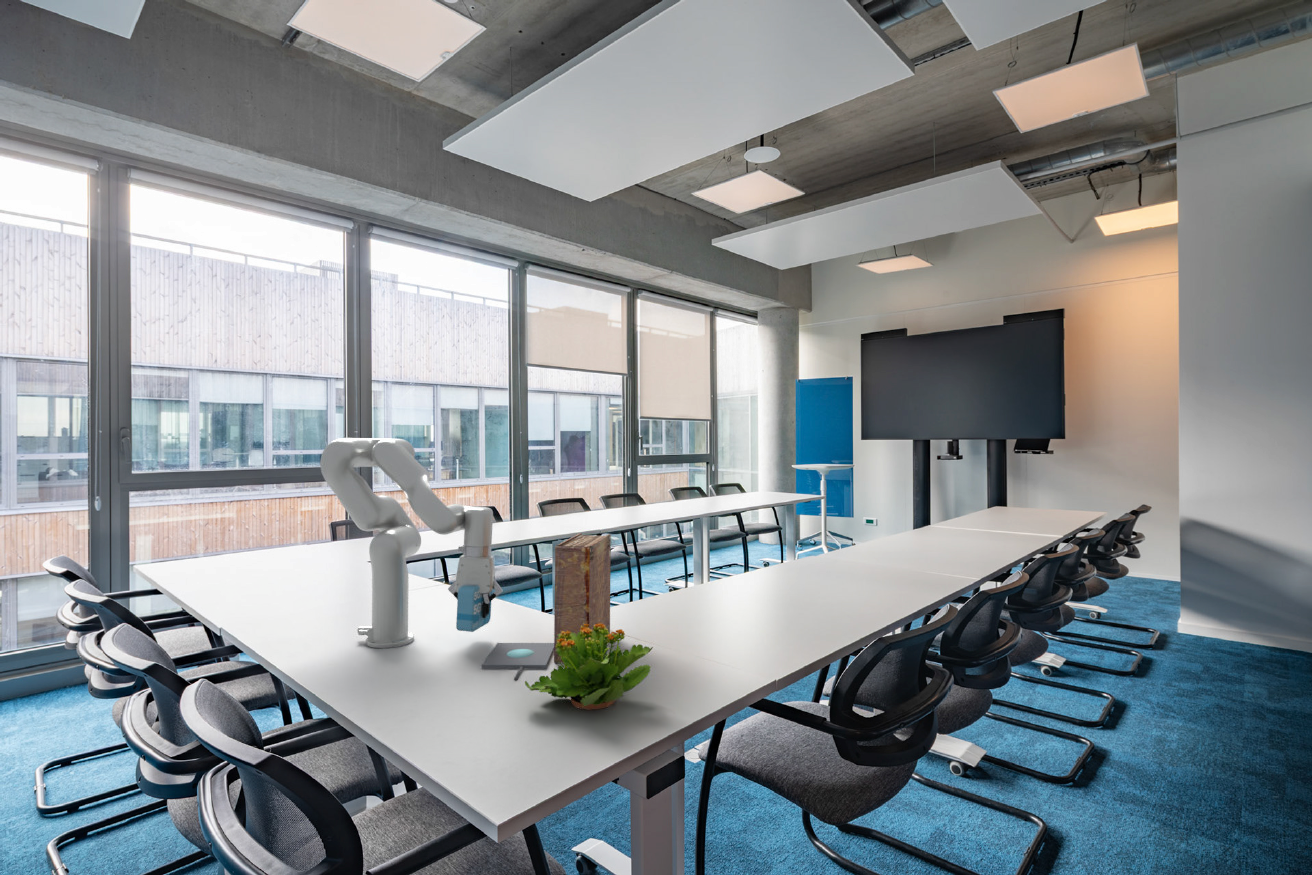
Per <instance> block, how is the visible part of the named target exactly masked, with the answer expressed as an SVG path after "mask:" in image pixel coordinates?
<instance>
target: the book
mask: <svg viewBox="0 0 1312 875" xmlns="http://www.w3.org/2000/svg"><path fill="white" fill-rule="evenodd" d="M611 536H612V535H611V533H608V534H606V535H591V534H589V535H588V534H587V535H586V534H583V535H582V532H579V533H578V534H577V533H576V534H575V535H573V536H572V537H569V538H568V539H566V540H565V541H562V542H560V543H559V544H556V545H555V546H554V547H555V548H554V616H553V618H554V620H553V621H554V625H553V626H554V629H553V633H554V634H553V643H554V651H553V663H555V664H560V663H561V664H564V663H563V661H562V660H561V659H560V658H561V656H559V654H557V652H556V649H557V648H556V644H557V642H556V639H557V638H559V637H558V636H557V634H561V632H562V631H564V632H566V631H570V632H572V633H576V635H577V633H578V632H580V630H579V629H581V625H582V626H583V627H584V624H589V626H588V627H589V629H591V630H594V627H593V626H594V625H595V624H597V623H602V624H604V625H605V628H606V629H608V632H609V634H611V558H612V557H611V552H612V551H611V550H612V549H611V548H612V547H611V545H612V544H611V539H612V537H611ZM606 635H607V634H606ZM559 662H560V663H559Z"/></svg>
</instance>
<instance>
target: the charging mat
mask: <svg viewBox="0 0 1312 875" xmlns="http://www.w3.org/2000/svg"><path fill="white" fill-rule="evenodd" d="M553 655H554V642H496V644H495V646H494V647H493V648H492V650H491V651H490V652H489V654H488V656H487V657H486V658H485V660H484V661H483V663H482V664H481V670H518V671H517V673H516V674H515V675H514V678H513V679H514V680H515V681H517V680H518V679H519V677H520V675H521V673H522V672H523V670H547V668H548V665H549V664H550V660H551V659H552V656H553Z"/></svg>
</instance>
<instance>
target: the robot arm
mask: <svg viewBox="0 0 1312 875" xmlns="http://www.w3.org/2000/svg"><path fill="white" fill-rule="evenodd" d="M415 457H416V450H415V448H414V447H413V445H412V444H411V442H409V440H406V439H403V438H372V437H371V438H370V437H369V438H368V437H367V438H366V437H365V438H364V437H362V438H361V437H344V438H343V437H342V438H338V439H334V440H332V441H331V442H329V443H328V444H327V445H326V446H325V448H324V449H323V450H322V453H321V456H320V461H319V462H320V463H319V464H320V472H321V474H322V477H323V479H324V481H325V482H326V484H327V485H328V487H329V488H330V489H331V491H332V492H333V493H334V494H335V496H336V497H337V499H338V500H339V502H340V503H341V505H342V506H343V509H345V511H346V513H347V514H348V515H349V517H350V518H351V520H352V521H353V523H354V524H355V526H357V528H359V529H360V531H364V532H373V531H377V530H378V531H379V532H378V533H377V534H376V535H375V536H374V537H372V539H371V541H370V544H369V548H368V549H369V558H370V559H369V560H370V566H371V625H370V626H358V628H357V634H358V635H359V636H367V637H366V638H365V645H366V646H367V647H370V648H376V649H389V648H397V647H401V646H405V645H407V644H410V643H412V642H413V641H414V640H415V635H414V634H413V633H412V632H409V570H408V566H407V560H406V559H407V558H409V557H410V558H411V557H412V556H414V555H415V554H416V553H418V551H419V550H420V548H421V545H422V537H421V534H420V531H419V530H418V528H417V527H416V525H415V524H414V522H413V521H412V519H411V518H410V517H409V515H408V513H407V512H406V511H405V509H404V508H403V506H402V505H401V504H400V503H399V502H398V501H397V500H396V499H395V498H393V497H392V496H389V495H384V494H383V495H376V493H375V492H374V491H373V490H372V488H371V487H370V485H369V484H368V482H367V481H366V480H365V478H363V477H362V476H361V474H359V473H358V472H357V471H356V469H355V468H363V467H365V468H367V467H369V468H372V467H373V468H379V469H380V470H381V471H382V472H383V473H385V475H386V476H387V477H388V478H389V479H390V480H391V481H392V482H393V483H394V484H395V485H396V486H397V487H398V488H399V489H400V490H401V491H402V492H403V493H404V495H405V497H406V500H407V501H408V503H409V505H410V507H411V509H412V510H413V512H414V514H415V515H417V517H418V518H419V519H420V520H421V521H422V522H423V523H424V524H425V525H426V526H427V527H428V528H429V529H430V530H431V531H433V532H434V533H435V534H439V535H445V536H446V535H450V534H452V533H455V532H458V531H464V533H463V545H461V546H458V548H457V550H458V552H461V553H462V555H460V556H459V558H458V559H459V560H458V563H457V567H456V568H457V570H456V575H455V576H456V577H455V580H454V582H453V583H452V584H450V586H449V587H448V588H447V590H448V592H449V593H451V594H452V595H453V597H454V598H455V599H456V601H458V590H459V588H460V587H461V586H479V594H483V597H484V600H485V601H484V604H483V613H482V618H486V616H487V614H489V611H490V602H491V603H492V601H493V600H494V599H495V598H496V597H498V596H499V595H500V594H501V593H503V591H504V590H503V589H502V587H501V586H500V584H499V583H498V582H497V580H496V570H495V560H494V556H493V555H492V544H493V543H492V538H493V522H494V511H493V509H492V508H490V507H488V506H487V507H486V506H469V505H463V504H457V503H455V504H449V505H446V504H445V503H444V502H443V501H442V500H441V499H440V498H439V497H438V496H437V495H436V494H435V492H434V491H433V489H432V488H431V485H430V479H431V478H430V473H429V471H428V470H427V469H426V468H425V467H424V466H423V465H422V464H421V463H420V462H418V460H417V459H415ZM493 590H495V591H494V592H493ZM491 591H492V592H493V593H492V595H490V592H491Z"/></svg>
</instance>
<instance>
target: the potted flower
mask: <svg viewBox="0 0 1312 875" xmlns="http://www.w3.org/2000/svg"><path fill="white" fill-rule="evenodd" d="M588 626H589V624H584V627H583V626H582V625H581V629H579V630H580V632H578V633H577V635H576V633H572V632H570V631H566V632H564V631H562V632H561V634H557V636H558V637H559V638H557V639H556V642H557V644H556V648H557V649H556V652H557V654H559V656H561V658H560V659H561V660H562V661H563V663H560V662H559V663H558V664H560V665H558V667H557V668H555V667H554V668H553V669H552V670H551V672H550V677H549V675H546V676H545V675H540V677H539V679H538V680H537V681H535V682H534V683H533V684H532V685H531V686H530V684H529V682H527V680H525V681H524V685H525V686H526V687H527V688H528V689H529V690H530V691H532V692H533V691H538V692H539V693H547V694H548V695H550V696H551V697H553V698H558V699H568V698H570V702H571V704H572V705H573V706H574V707H575V708H577V709H582V710H588V711H589V710H601V709H605V708H608V707H609V706H612V705H613V704H614V703H615V701H616V700H618V699H620V698H622V697H623V696H624V693H626V692H628V691H630V690H632V689H634V688H635V687H636V686H638V685H639V684H640V683H642V682H643V681H644V679H646V678H647V676H649V673H650V671H651V668H652V666H651V665H650V664H649V665H648V664H644V665H639V666H638V667H637V666H636V667H634V668H633V669H630V671H628V672H626V673H625V674H624V675H623V676H622V673H623V672H624V671H625V670H627V668H628V667H630V666H632V665H633V664H634V663H635V662H637V661H638V660H639V659H641V658H643V657H644V656H647V655H648V654H649V653H651V651H652V650H653V648H654V646H652V647H650V646H643V644H637V645H636V644H632V646H631V648H630V650H629V649H624V650H623V651H622V649H621V648H620V646H619V644H620V642H622V640H625V637H626V636H625V635H626V633H625V630H623V629H620V628H619V629H616V630H615V631H610V634H609V632H608V629H606V628H605V625H604V624H602V623H597V624H595V625H594V626H593V627H594V630H591V629H589V627H588ZM606 634H607V635H606ZM615 643H617V645H616V648H615V649H613V648H614V647H615ZM609 644H610V647H608V645H609Z"/></svg>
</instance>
